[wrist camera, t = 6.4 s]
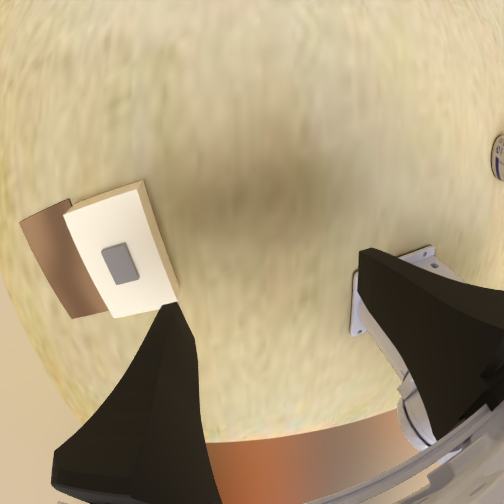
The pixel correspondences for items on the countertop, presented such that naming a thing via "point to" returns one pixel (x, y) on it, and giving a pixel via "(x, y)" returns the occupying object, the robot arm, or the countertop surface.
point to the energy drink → (498, 158)
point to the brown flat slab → (62, 261)
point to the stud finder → (123, 250)
